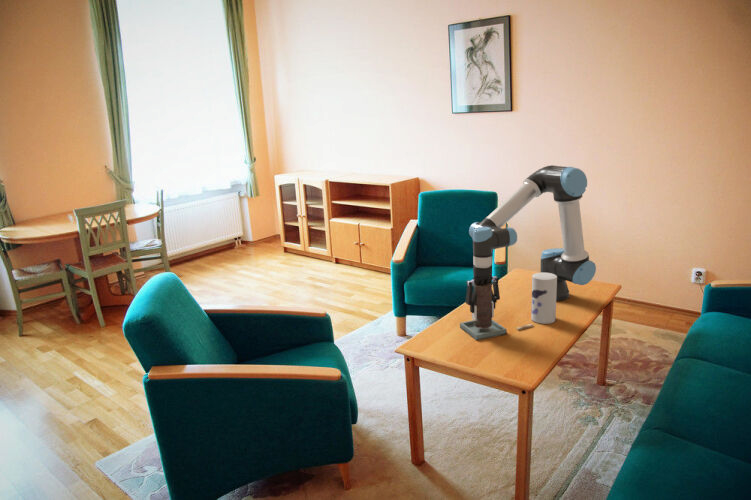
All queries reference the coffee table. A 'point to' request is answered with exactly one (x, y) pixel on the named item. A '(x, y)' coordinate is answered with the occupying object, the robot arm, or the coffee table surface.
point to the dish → (483, 330)
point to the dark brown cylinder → (484, 305)
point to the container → (544, 297)
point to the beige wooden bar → (524, 327)
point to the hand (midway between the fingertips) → (482, 317)
